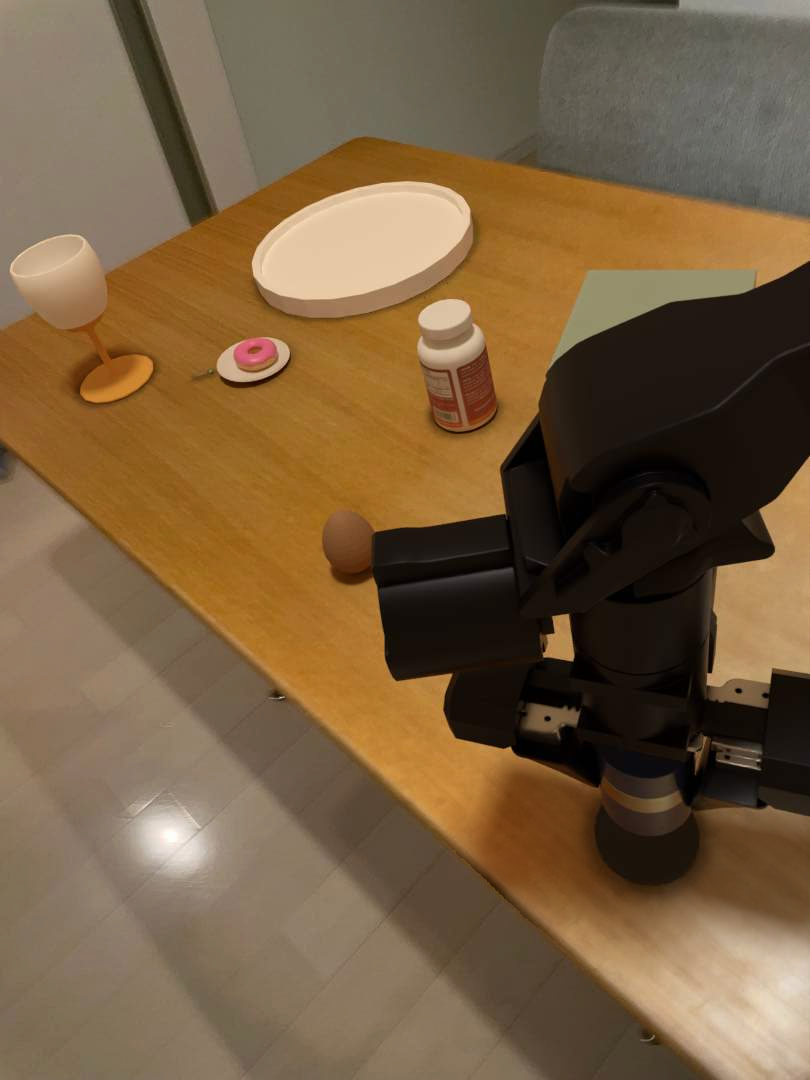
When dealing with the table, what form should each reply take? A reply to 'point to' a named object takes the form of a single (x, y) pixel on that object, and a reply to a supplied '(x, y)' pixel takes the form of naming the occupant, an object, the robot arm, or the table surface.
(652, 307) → the pale olive box
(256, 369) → the donut
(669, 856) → the coaster
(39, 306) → the cup
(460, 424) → the pill bottle
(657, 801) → the can
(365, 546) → the egg
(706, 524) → the robot arm
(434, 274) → the plate
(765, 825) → the table surface
